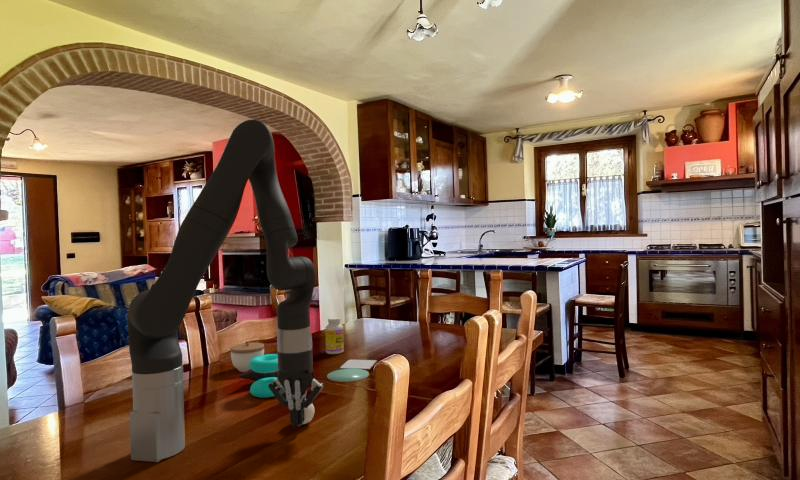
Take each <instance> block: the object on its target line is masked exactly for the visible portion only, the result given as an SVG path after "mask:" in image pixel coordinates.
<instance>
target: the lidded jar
mask: <svg viewBox="0 0 800 480" xmlns="http://www.w3.org/2000/svg"><path fill="white" fill-rule="evenodd" d="M261 355H265V344H264V343H263V342H250V341H249V340H246V341H245V342H243V343H238V344H234V345H232V346H231V347H230V359H231V362H232V365H233V367H234V368H236V369H237V371H238V372H241V373H245V372H246V371H248V370H250V369H251V368H250V366H249V363H250V361H251V360H252V359H253V358H255V357H257V356H261Z"/></svg>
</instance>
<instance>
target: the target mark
mask: <svg viewBox="0 0 800 480" xmlns="http://www.w3.org/2000/svg"><path fill="white" fill-rule="evenodd" d="M369 376H370V373H369V371H367V369H344V368H340V369H336V370H333V371H330V372H329V373H327V374H326V378H327V380H329V381H333V382H338V383H350V382H357V381H361V380H362V381H363V380H364V379H366V378H368V377H369Z"/></svg>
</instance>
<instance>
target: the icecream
mask: <svg viewBox="0 0 800 480" xmlns="http://www.w3.org/2000/svg"><path fill="white" fill-rule="evenodd" d="M278 373H279V371H276V372H272V373H257V372H254V371H253V370H252V369H250V370H248V371H246V372H242V374H240V375H239V376H238V378H239V379H243V380H248V381H253V382H256V381H258V380H260V379H263V378H269V377H276V378H277V375H278Z"/></svg>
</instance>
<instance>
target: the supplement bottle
mask: <svg viewBox="0 0 800 480" xmlns="http://www.w3.org/2000/svg"><path fill="white" fill-rule="evenodd" d="M341 319H342V318H341V317H339V316H334V317H333V316H332V317H328V318H327V322H328V323H327V325H326V326H325V327H324V328H325V329H324V330H325V353H326V354H328V355H339V354H342V353H344V351H345V350H344V348H345V347H344V346H345V344H344V337H345V336H344V325H342V323H341Z"/></svg>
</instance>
